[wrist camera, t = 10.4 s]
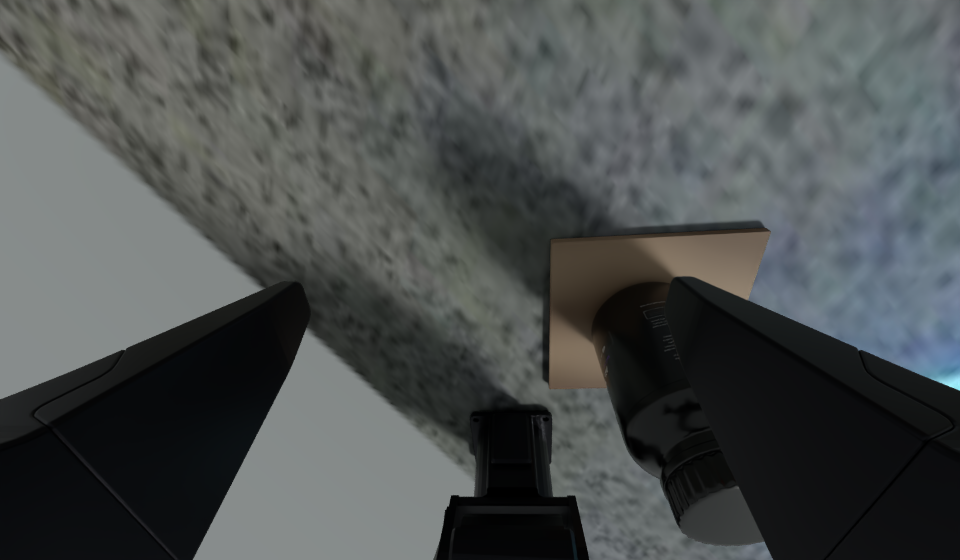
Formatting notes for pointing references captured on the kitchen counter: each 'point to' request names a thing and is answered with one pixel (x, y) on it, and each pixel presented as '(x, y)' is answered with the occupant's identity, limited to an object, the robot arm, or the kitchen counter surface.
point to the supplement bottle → (667, 417)
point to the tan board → (633, 283)
